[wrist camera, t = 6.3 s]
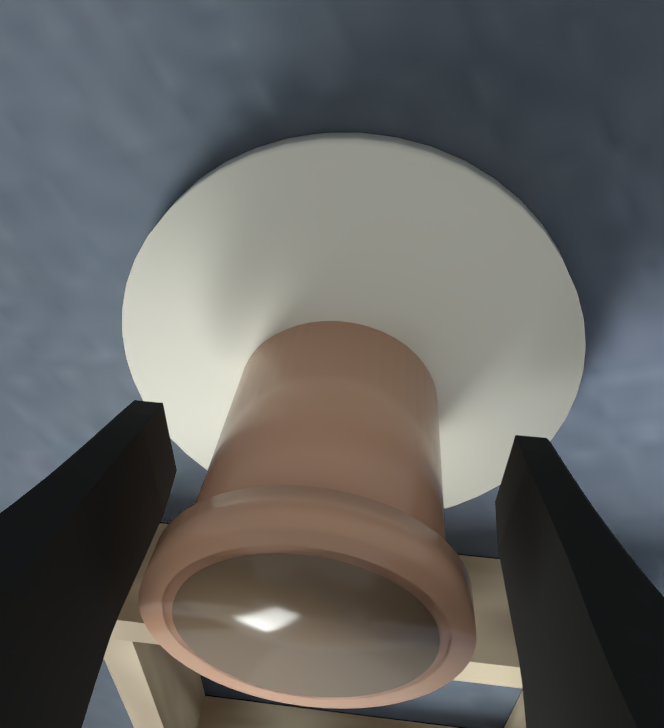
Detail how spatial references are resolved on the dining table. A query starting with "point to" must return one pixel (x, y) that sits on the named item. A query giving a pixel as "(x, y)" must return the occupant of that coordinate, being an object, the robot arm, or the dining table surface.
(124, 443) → the robot arm
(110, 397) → the dining table surface
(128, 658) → the cold frame
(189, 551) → the terracotta pot
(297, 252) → the saucer
